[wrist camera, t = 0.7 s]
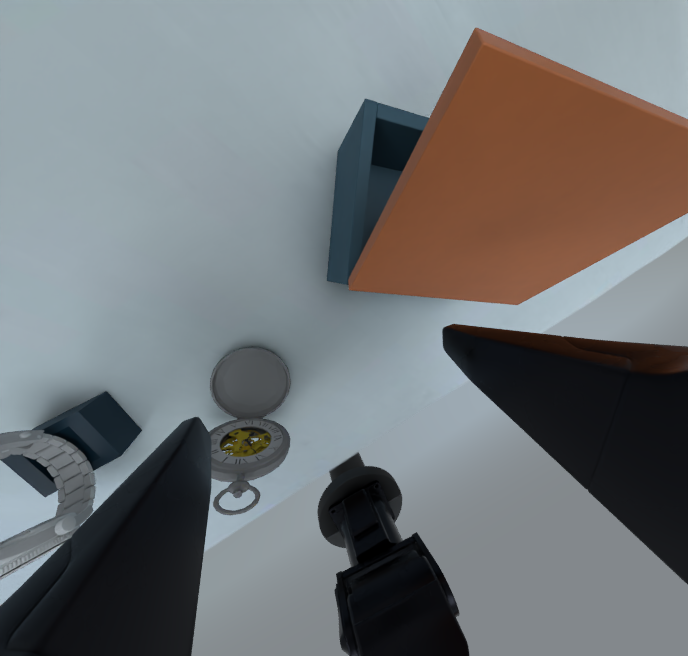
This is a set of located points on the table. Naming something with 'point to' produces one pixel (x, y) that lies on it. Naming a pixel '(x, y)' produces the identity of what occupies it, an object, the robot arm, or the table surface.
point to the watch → (63, 471)
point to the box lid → (523, 181)
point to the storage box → (367, 179)
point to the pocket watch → (248, 420)
